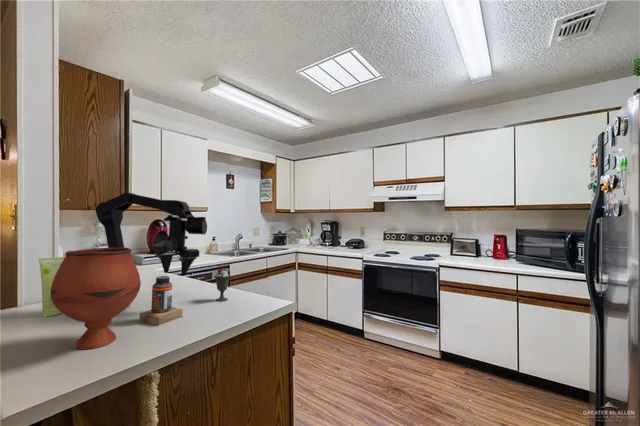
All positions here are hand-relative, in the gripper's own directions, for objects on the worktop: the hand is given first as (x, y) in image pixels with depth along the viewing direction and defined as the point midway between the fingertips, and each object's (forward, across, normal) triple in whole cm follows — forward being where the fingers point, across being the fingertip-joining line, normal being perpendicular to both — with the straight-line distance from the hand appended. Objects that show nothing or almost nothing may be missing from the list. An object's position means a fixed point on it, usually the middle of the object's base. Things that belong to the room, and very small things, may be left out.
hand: (174, 274), depth 106 cm
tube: (+14, -29, -24) cm, 40 cm away
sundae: (+12, +9, +16) cm, 22 cm away
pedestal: (+12, +7, -10) cm, 18 cm away
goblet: (+13, +8, -30) cm, 33 cm away
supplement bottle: (+10, +7, -10) cm, 16 cm away
